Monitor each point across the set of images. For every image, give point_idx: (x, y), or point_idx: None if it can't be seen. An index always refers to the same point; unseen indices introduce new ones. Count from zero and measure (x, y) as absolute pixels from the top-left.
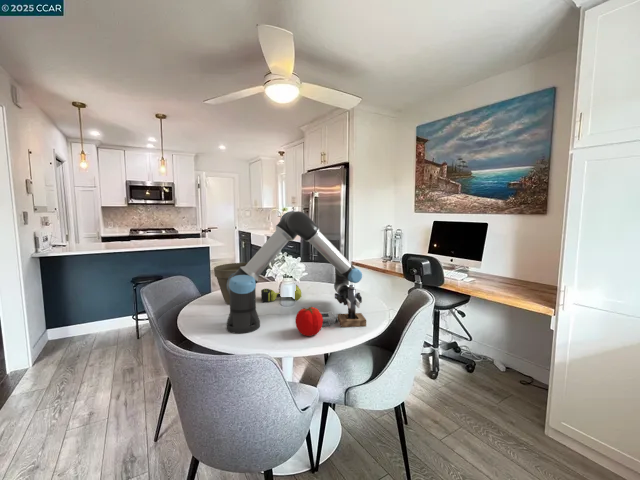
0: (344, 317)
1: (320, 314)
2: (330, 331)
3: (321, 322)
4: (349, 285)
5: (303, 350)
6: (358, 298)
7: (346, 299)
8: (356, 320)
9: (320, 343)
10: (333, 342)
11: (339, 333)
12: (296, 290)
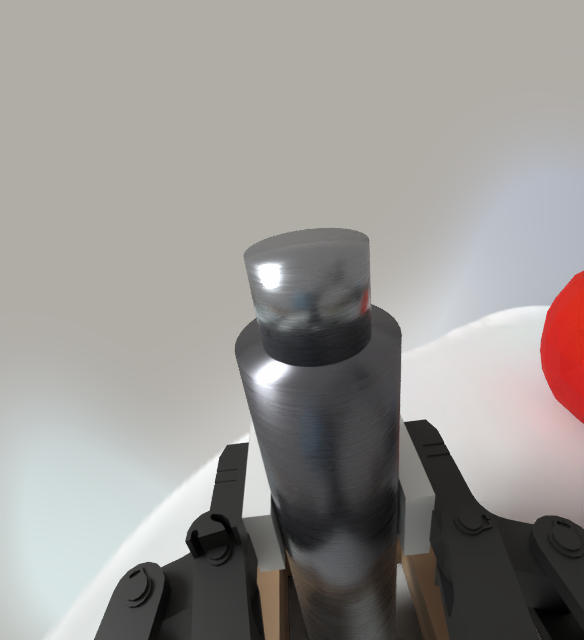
0: (433, 589)
1: (569, 294)
2: (498, 447)
3: (544, 334)
4: (365, 236)
5: (528, 306)
6: (200, 547)
7: (425, 480)
8: None
9: (490, 342)
10: (435, 352)
11: None
12: None
